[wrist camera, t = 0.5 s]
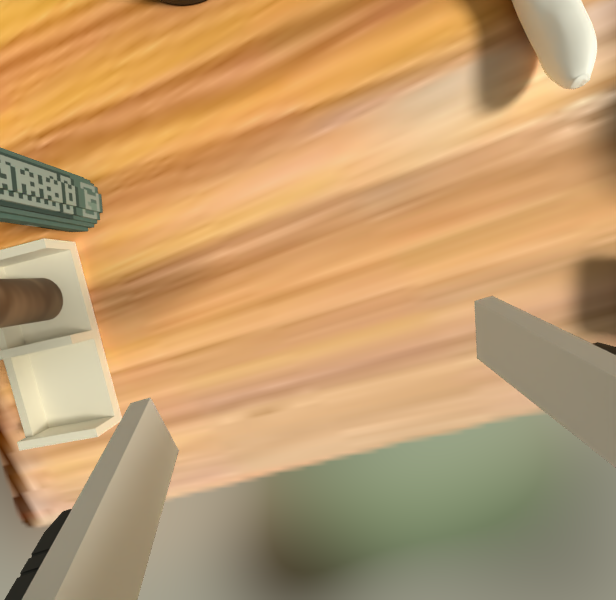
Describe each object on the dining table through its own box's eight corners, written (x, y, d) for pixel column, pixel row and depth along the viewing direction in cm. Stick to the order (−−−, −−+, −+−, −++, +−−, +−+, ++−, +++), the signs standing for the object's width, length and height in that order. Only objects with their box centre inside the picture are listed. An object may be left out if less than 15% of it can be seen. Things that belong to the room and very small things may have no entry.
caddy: (2, 261, 39) (-36, 259, 35) (75, 241, 38) (43, 238, 34) (51, 432, 40) (19, 450, 36) (122, 420, 39) (97, 436, 35)
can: (51, 179, 37) (-142, 119, 22) (99, 176, 37) (-67, 111, 22) (56, 232, 38) (-129, 207, 23) (104, 230, 37) (-56, 202, 22)
